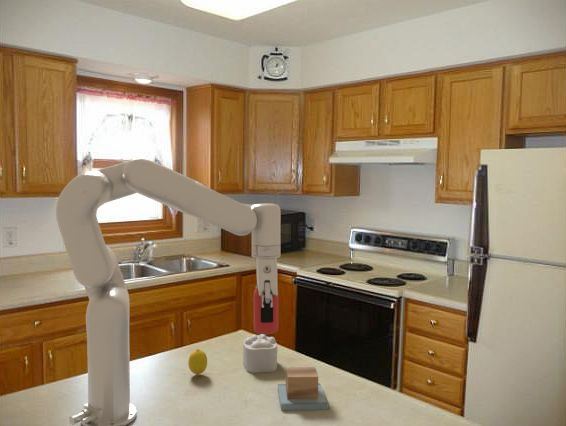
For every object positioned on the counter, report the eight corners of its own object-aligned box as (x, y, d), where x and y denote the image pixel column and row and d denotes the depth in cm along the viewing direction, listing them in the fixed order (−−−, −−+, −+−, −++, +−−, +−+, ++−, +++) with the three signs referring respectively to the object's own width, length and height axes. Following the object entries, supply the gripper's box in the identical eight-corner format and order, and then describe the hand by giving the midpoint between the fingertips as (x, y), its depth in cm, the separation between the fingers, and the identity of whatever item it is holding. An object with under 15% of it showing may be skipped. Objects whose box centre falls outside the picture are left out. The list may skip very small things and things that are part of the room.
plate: (281, 410, 123) (281, 404, 123) (277, 389, 135) (277, 383, 135) (327, 409, 124) (327, 403, 124) (320, 388, 136) (320, 383, 136)
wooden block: (317, 398, 127) (318, 376, 126) (287, 399, 126) (287, 377, 126) (314, 387, 133) (314, 366, 133) (285, 388, 133) (285, 367, 132)
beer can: (283, 330, 128) (283, 286, 127) (266, 337, 123) (266, 290, 122) (265, 325, 132) (265, 282, 131) (248, 331, 128) (248, 286, 126)
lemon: (205, 379, 141) (205, 352, 140) (186, 378, 141) (186, 352, 140) (208, 371, 146) (208, 345, 146) (190, 371, 146) (190, 345, 146)
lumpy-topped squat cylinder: (245, 373, 146) (246, 345, 145) (240, 357, 159) (241, 331, 158) (279, 371, 148) (279, 343, 147) (271, 355, 161) (272, 329, 160)
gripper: (283, 256, 118) (283, 328, 119) (277, 245, 135) (277, 308, 136) (252, 257, 117) (252, 329, 119) (250, 246, 134) (251, 309, 136)
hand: (266, 317), depth 127 cm, fingers closed on beer can, 6 cm apart
